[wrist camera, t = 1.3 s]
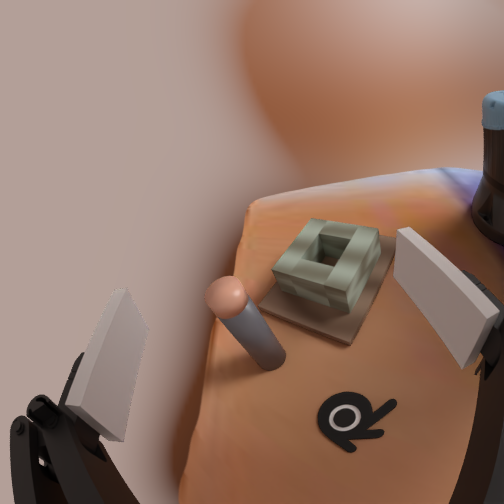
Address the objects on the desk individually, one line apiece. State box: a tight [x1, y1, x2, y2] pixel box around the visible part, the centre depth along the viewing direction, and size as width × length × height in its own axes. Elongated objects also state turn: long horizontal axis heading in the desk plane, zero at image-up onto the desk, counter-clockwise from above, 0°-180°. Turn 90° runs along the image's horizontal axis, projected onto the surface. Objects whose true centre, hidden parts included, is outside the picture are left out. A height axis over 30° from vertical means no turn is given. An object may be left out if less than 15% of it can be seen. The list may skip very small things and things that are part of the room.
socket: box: [258, 218, 396, 346], centre depth 41 cm, size 20×16×6 cm
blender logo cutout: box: [318, 392, 397, 452], centre depth 25 cm, size 9×8×1 cm
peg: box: [205, 276, 286, 370], centre depth 32 cm, size 4×4×15 cm
